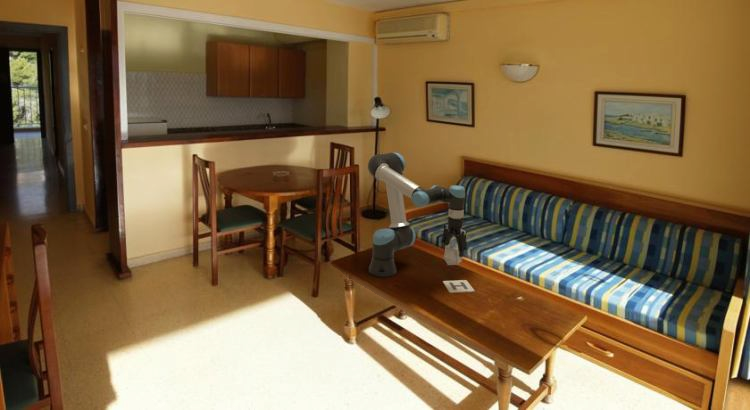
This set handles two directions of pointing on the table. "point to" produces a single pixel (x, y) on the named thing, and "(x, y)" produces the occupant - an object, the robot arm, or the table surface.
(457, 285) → the board
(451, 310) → the table surface
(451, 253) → the die
